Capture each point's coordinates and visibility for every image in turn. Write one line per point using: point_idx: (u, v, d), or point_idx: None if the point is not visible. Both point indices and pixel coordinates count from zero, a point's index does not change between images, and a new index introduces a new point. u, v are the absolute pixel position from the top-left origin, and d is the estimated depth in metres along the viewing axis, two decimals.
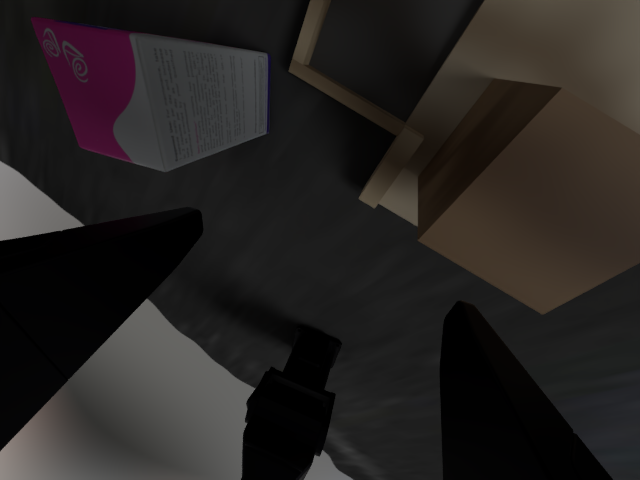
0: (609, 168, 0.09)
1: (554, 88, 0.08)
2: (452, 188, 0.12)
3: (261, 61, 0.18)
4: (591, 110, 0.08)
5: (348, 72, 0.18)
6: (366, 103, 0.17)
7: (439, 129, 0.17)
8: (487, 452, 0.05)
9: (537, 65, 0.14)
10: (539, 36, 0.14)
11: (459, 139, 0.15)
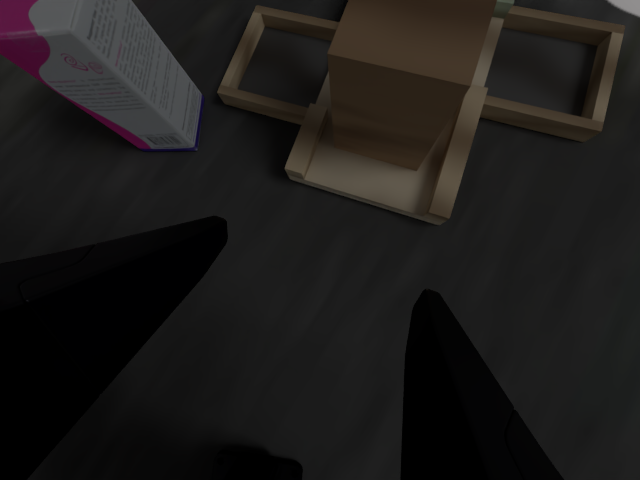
0: None
1: None
2: None
3: (195, 89, 0.23)
4: None
5: (264, 95, 0.24)
6: (279, 101, 0.22)
7: None
8: (435, 430, 0.05)
9: None
10: None
11: None
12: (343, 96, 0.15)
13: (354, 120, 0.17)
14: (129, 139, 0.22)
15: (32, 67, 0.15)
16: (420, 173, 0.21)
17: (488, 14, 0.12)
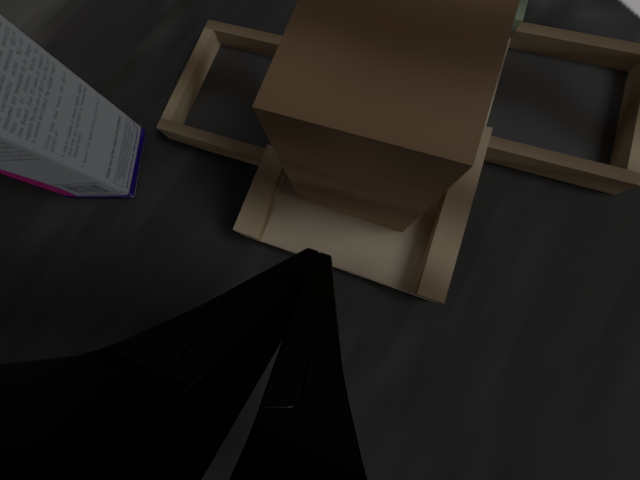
0: None
1: None
2: None
3: (130, 123, 0.19)
4: None
5: (217, 130, 0.20)
6: (231, 139, 0.18)
7: None
8: None
9: None
10: None
11: None
12: (292, 155, 0.11)
13: (314, 179, 0.13)
14: (43, 187, 0.18)
15: None
16: (407, 235, 0.16)
17: (499, 49, 0.08)
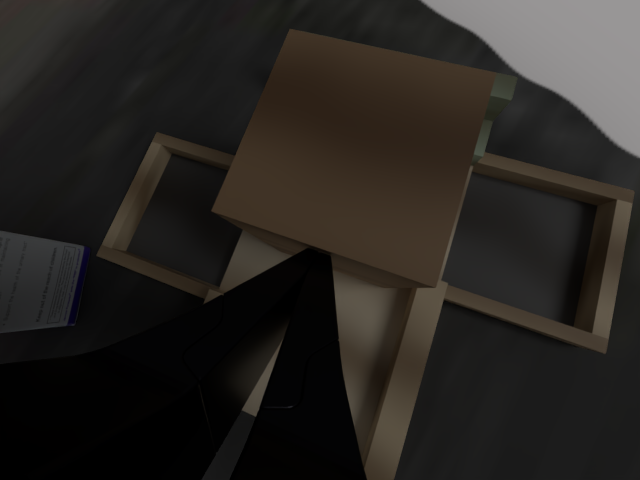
0: (365, 73, 0.08)
1: None
2: None
3: (69, 250, 0.18)
4: (321, 38, 0.09)
5: (164, 252, 0.18)
6: (174, 273, 0.17)
7: None
8: None
9: None
10: None
11: None
12: (262, 236, 0.11)
13: (289, 249, 0.12)
14: None
15: None
16: (357, 394, 0.15)
17: (465, 157, 0.08)
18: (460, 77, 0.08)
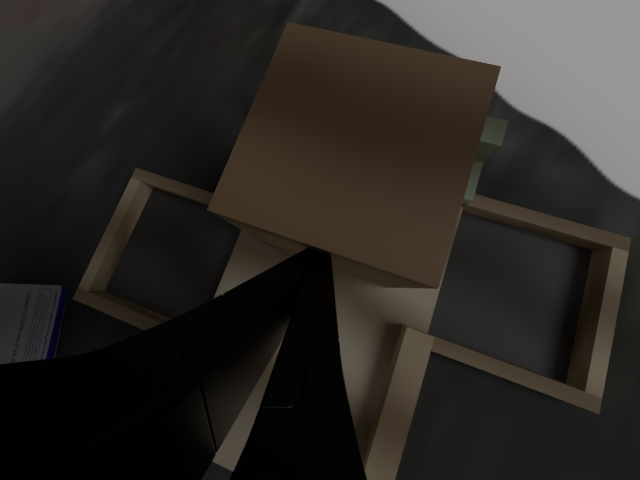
0: (365, 67, 0.08)
1: None
2: None
3: (44, 292, 0.17)
4: (319, 31, 0.09)
5: (144, 293, 0.18)
6: (152, 319, 0.16)
7: None
8: None
9: None
10: None
11: None
12: (260, 236, 0.10)
13: (287, 248, 0.12)
14: None
15: None
16: None
17: (469, 153, 0.07)
18: (463, 70, 0.08)
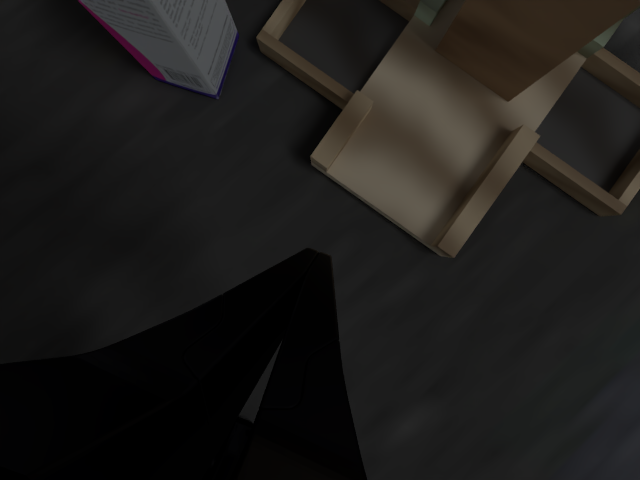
0: None
1: None
2: None
3: (231, 25, 0.20)
4: None
5: (308, 58, 0.21)
6: (323, 73, 0.20)
7: (383, 106, 0.20)
8: None
9: (444, 70, 0.20)
10: None
11: None
12: None
13: (487, 13, 0.16)
14: (143, 63, 0.19)
15: None
16: (442, 202, 0.20)
17: None
18: None
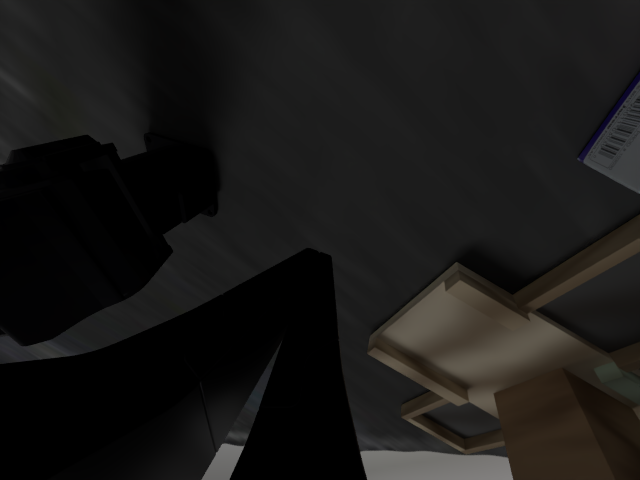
0: None
1: None
2: None
3: None
4: None
5: None
6: (566, 291, 0.17)
7: None
8: None
9: (536, 368, 0.22)
10: None
11: (620, 426, 0.19)
12: (590, 459, 0.17)
13: (566, 429, 0.19)
14: None
15: None
16: (411, 348, 0.26)
17: None
18: None
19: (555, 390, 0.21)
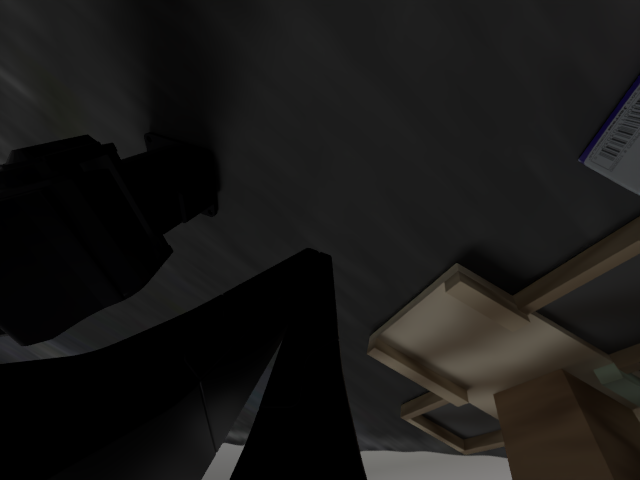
0: None
1: None
2: None
3: None
4: None
5: None
6: (566, 292, 0.17)
7: None
8: None
9: (536, 369, 0.22)
10: None
11: (620, 428, 0.19)
12: (590, 460, 0.17)
13: (566, 431, 0.19)
14: None
15: None
16: (411, 349, 0.26)
17: None
18: None
19: (555, 391, 0.21)
